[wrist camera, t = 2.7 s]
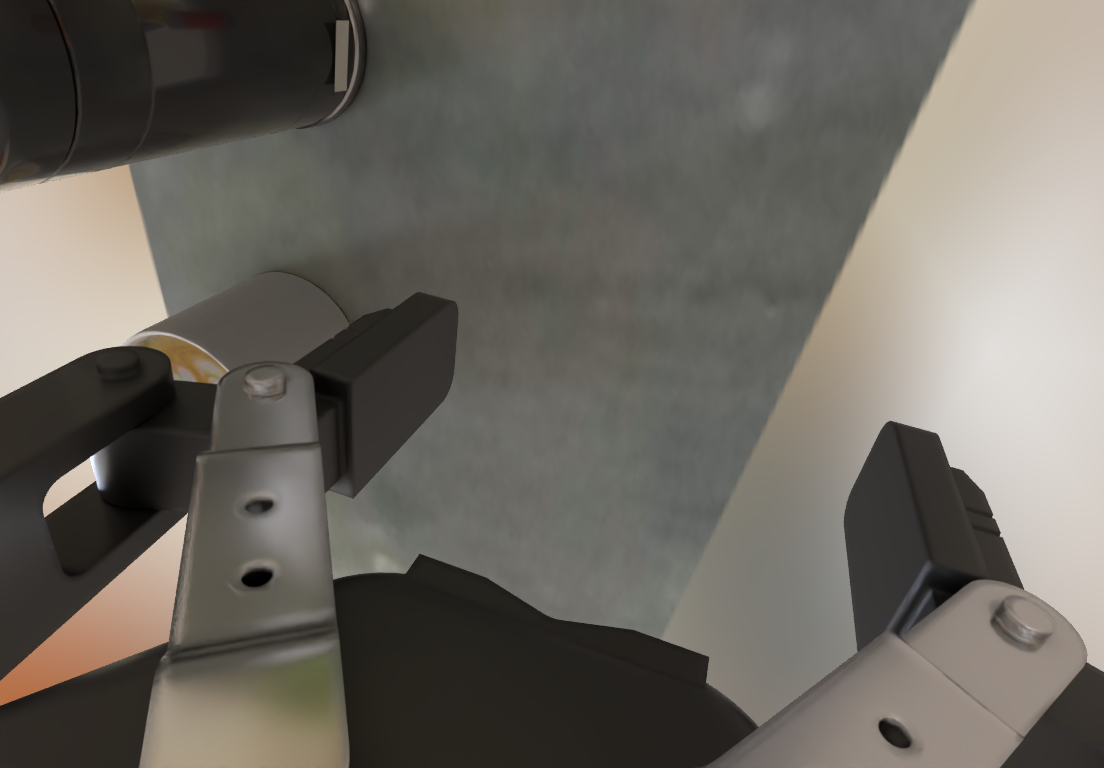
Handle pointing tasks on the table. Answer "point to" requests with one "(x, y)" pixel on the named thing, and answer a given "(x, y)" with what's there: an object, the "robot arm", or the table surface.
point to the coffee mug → (245, 327)
